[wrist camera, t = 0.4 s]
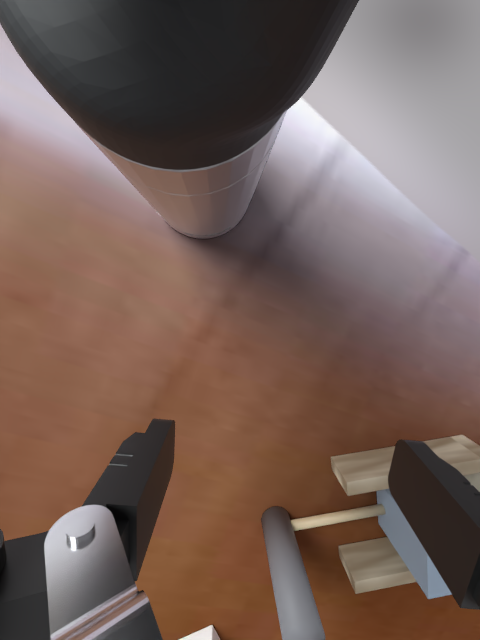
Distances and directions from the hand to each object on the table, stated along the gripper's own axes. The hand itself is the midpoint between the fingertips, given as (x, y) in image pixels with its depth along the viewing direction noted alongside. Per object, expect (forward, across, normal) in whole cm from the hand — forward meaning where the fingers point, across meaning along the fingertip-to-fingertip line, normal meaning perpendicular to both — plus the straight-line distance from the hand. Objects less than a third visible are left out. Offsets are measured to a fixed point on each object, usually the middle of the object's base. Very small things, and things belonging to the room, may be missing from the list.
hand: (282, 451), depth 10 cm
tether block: (+18, -12, +20) cm, 30 cm away
